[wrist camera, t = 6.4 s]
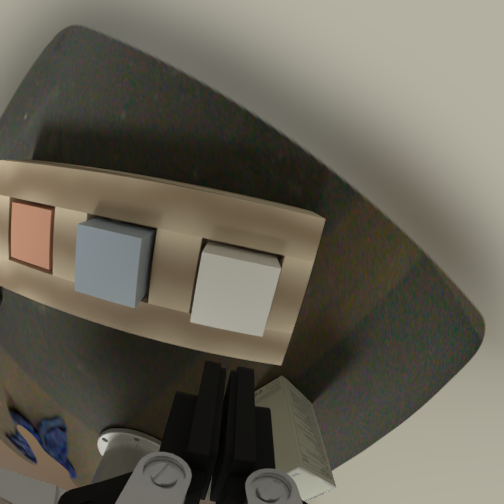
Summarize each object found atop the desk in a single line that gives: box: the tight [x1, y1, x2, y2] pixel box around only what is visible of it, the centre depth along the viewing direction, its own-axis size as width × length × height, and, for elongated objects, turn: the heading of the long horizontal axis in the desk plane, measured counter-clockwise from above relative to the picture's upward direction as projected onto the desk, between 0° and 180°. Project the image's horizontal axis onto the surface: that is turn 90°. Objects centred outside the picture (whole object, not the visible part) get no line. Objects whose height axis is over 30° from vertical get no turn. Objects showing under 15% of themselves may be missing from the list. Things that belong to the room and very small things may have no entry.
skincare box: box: [255, 376, 336, 501], centre depth 24 cm, size 6×4×12 cm
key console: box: [0, 160, 325, 365], centre depth 23 cm, size 12×28×5 cm, turn 77°
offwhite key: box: [190, 241, 281, 337], centre depth 21 cm, size 5×5×3 cm
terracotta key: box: [11, 200, 55, 270], centre depth 21 cm, size 5×5×3 cm
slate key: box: [75, 217, 155, 308], centre depth 20 cm, size 5×5×3 cm
